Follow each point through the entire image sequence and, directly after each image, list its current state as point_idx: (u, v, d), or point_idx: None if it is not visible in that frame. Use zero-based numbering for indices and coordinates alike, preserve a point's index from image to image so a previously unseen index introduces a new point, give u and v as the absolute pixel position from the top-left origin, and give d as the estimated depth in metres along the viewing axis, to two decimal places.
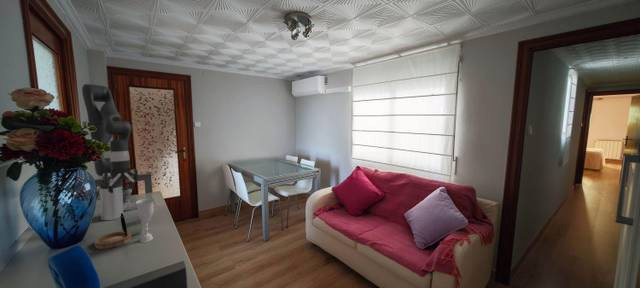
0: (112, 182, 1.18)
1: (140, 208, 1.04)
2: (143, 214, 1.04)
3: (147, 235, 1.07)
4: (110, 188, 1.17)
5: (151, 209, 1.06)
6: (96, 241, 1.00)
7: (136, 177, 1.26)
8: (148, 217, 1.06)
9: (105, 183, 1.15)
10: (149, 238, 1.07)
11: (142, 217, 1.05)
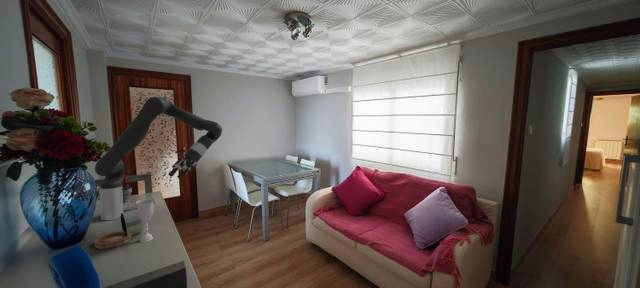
0: None
1: (140, 208, 1.04)
2: (143, 214, 1.04)
3: (147, 235, 1.07)
4: (183, 175, 1.17)
5: (151, 209, 1.06)
6: (96, 241, 1.00)
7: None
8: (148, 217, 1.06)
9: None
10: (149, 238, 1.07)
11: (142, 217, 1.05)
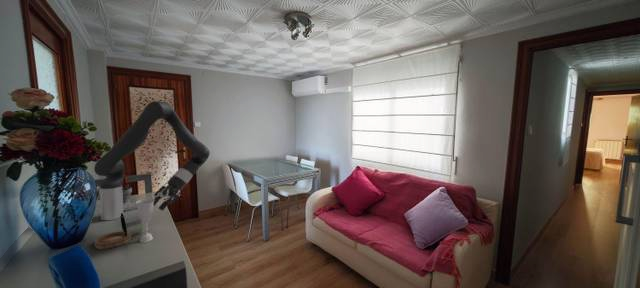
0: None
1: (140, 208, 1.04)
2: (143, 214, 1.04)
3: (147, 235, 1.07)
4: (166, 205, 1.10)
5: (151, 209, 1.06)
6: (96, 241, 1.00)
7: None
8: (148, 217, 1.06)
9: None
10: (149, 238, 1.07)
11: (142, 217, 1.05)
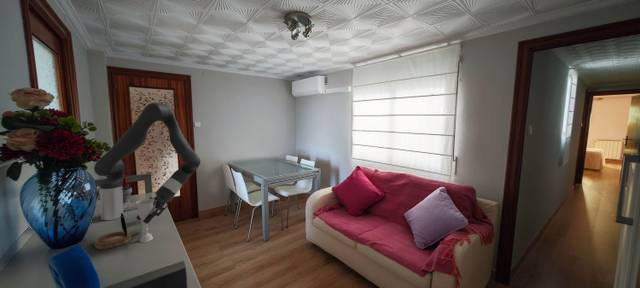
0: None
1: (140, 208, 1.04)
2: (143, 214, 1.04)
3: (147, 235, 1.07)
4: None
5: (151, 209, 1.06)
6: (96, 241, 1.00)
7: None
8: None
9: None
10: (149, 238, 1.07)
11: (142, 217, 1.05)
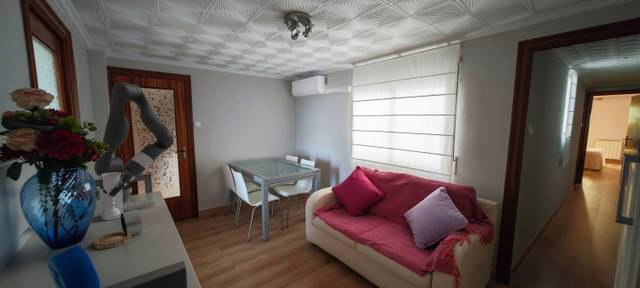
0: None
1: (105, 180, 1.00)
2: (109, 187, 1.00)
3: (114, 209, 1.03)
4: (117, 192, 1.01)
5: (117, 182, 1.02)
6: (96, 241, 1.00)
7: None
8: None
9: None
10: (116, 212, 1.03)
11: (108, 190, 1.01)
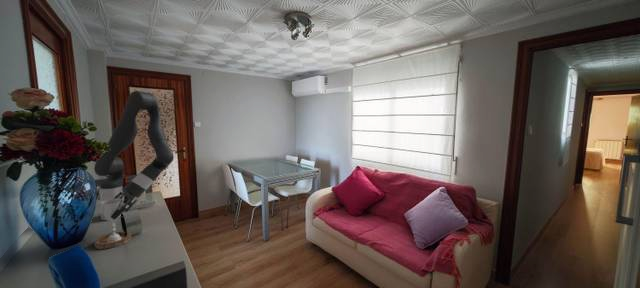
0: None
1: (105, 208, 1.00)
2: (109, 214, 1.01)
3: (114, 236, 1.04)
4: None
5: None
6: (96, 241, 1.00)
7: None
8: None
9: None
10: (117, 239, 1.04)
11: (108, 217, 1.01)
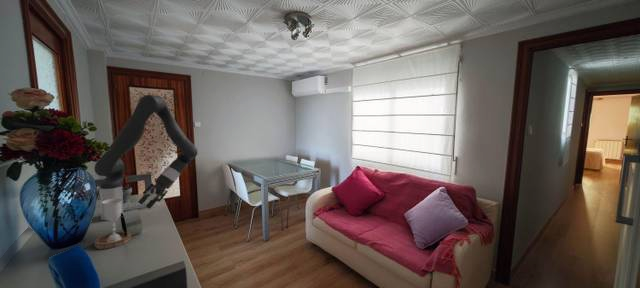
0: None
1: (106, 208, 1.01)
2: (110, 214, 1.01)
3: (114, 236, 1.04)
4: None
5: (118, 209, 1.03)
6: (96, 241, 1.00)
7: None
8: (115, 217, 1.03)
9: None
10: (117, 239, 1.04)
11: (108, 217, 1.02)
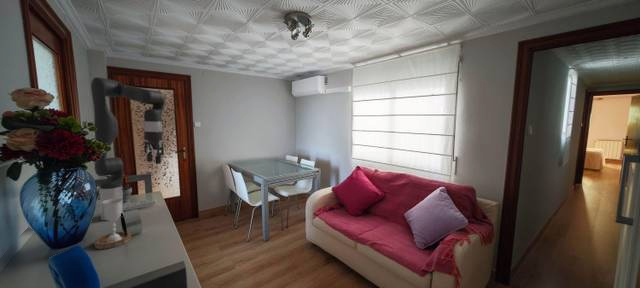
0: None
1: (106, 208, 1.01)
2: (110, 214, 1.01)
3: (115, 236, 1.04)
4: None
5: (118, 209, 1.03)
6: (96, 241, 1.00)
7: None
8: (115, 217, 1.03)
9: None
10: (117, 239, 1.04)
11: (109, 217, 1.02)
